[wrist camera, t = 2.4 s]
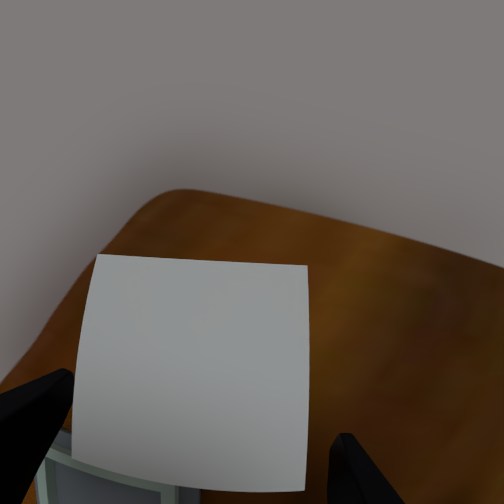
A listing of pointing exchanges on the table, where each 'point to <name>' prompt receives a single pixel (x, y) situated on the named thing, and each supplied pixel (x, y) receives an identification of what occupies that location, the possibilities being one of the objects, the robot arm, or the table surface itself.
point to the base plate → (98, 482)
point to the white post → (195, 373)
